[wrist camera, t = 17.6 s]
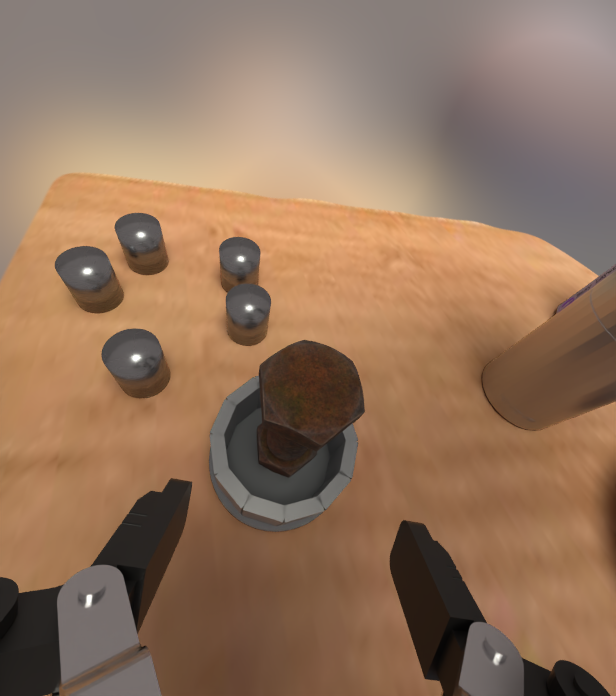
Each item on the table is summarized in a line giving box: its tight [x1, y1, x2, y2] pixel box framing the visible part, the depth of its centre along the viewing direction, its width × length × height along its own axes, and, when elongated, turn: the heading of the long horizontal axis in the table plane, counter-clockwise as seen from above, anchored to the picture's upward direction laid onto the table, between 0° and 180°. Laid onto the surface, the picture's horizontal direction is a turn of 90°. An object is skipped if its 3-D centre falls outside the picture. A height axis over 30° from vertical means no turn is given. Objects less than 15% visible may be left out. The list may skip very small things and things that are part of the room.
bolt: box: [257, 340, 365, 478], centre depth 22 cm, size 6×5×15 cm
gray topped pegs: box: [55, 213, 271, 398], centre depth 34 cm, size 19×19×5 cm
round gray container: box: [209, 376, 358, 532], centre depth 27 cm, size 12×12×6 cm
